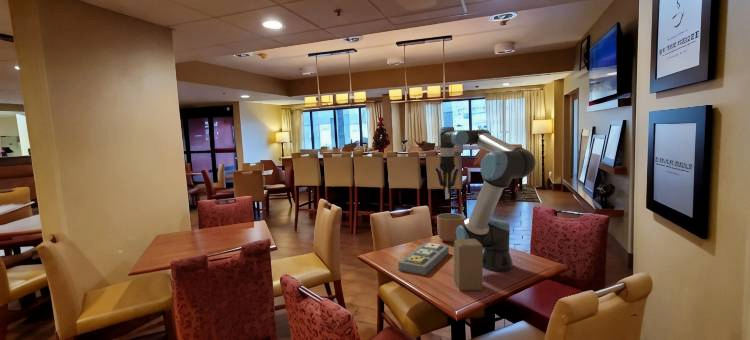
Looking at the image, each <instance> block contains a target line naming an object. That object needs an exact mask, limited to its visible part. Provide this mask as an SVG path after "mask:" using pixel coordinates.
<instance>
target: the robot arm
mask: <svg viewBox="0 0 750 340" xmlns="http://www.w3.org/2000/svg"><path fill="white" fill-rule="evenodd" d="M439 130H440V133H439V143H440V144H439V152H440V153H439V154H440V159H439V160H440V161H439V163H440V164H439V166H438V167H437V168H435V171H436V172H437V177H438V180H439V181H438V182H439V185H440V186H441V187H442V188H443V193H444V195H445V196H444V197H445V200H449V199H450V194H451V193H452V187H455V184H456V180H457V177H458V173H459V172H460V168H457V166H456V164H455V146H459V147H460V146H470V145H471V146H472V145H473V146H474V145H477V146H478V147H481V148H482V149H483V150H486V151H488V153H486V154H485V155H484V156H483V158H482V159H481V160H480V161H481V162H480V166H479V167H480V169H479V170H480V174H481V176H482V180H483V182H482V186H481V189H480V190H479V193H478V196H477V198H476V201H475V204H474V206H473V208H472V211H471V214H470V216H469V217H466V220H465V222H464V225H460V226H458V227H457V229H456V237H457V239H476V240H477V241H478V242H479V243H481V244H482V246H483V269H486V270H489V271H493V272H508V271H511V270H512V269H513V267H514V265H513V264H514V263H513V259H512V256H511V253H510V235H511V234H510V233H511V229H510V228H511V227H510V223H509V222H508V221H505V220H502V219H498V218H492V216H493V214H494V212H495V210H496V207H497V204H498V202H499V200H500V198H501V196H502V193H503V191H504V189H506V188H508V187H509V186H510V185H511V183H512V181H513V179H522V178H526V177H528V176H530V175H531V174H532V173H533V172H534V170H535V169H536V161H537V160H536V157H535V155H534V154H533V153H532V152H531V151H530V150H528V149H526V148H524V147H521V146H517V147H516V146H514V145H512V144H510V143H508V142H506V141H503V140H502V139H500V138H498V137H495V136H493V135H492V134H491V132H490V131H489V130H487V129H469V130H467V129H466V130H465V129H464V130H463V129H460V130H459V129H457V130H456V129H455V127H454V126H442V127H441V128H440V129H439ZM441 171H442V172H441ZM453 172H454V173H453ZM452 174H453V175H452Z"/></svg>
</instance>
